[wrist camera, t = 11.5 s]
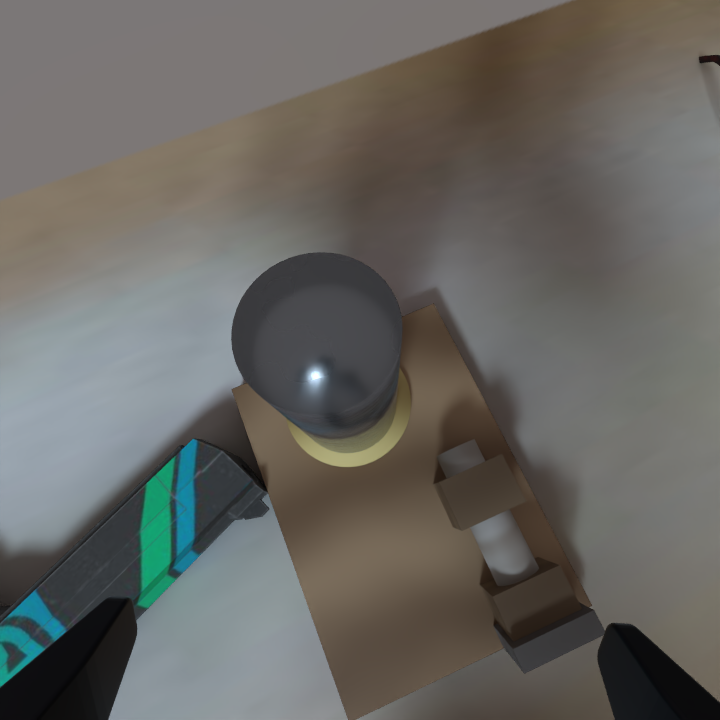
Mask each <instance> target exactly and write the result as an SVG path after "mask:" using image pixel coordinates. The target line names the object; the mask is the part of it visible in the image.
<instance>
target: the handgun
mask: <svg viewBox="0 0 720 720" xmlns="http://www.w3.org/2000/svg"><path fill="white" fill-rule="evenodd" d="M267 493H268V491H267V488H266V486H265V485H264V484H263V483H262V482H261V481H260V480H259V479H258V478H257V476H256V475H255V474H254V473H253V471H252V470H251V469H250V468H249V466H248V465H247V464H246V463H245V462H244V461H243V460H242V459H241V458H240V457H238V456H236V455H234V454H232V453H230V452H227V451H225V450H223V449H221V448H219V447H217V446H214V445H212V444H210V443H208V442H206V441H204V440H201V439H192V440H191V441H190V442H189V443H188V444H187V445H186V446H183V445H181V446H179V447H178V448H177V449H176V450H175V451H173V452H172V453H171V454H170V455H169V456H168V457H167V458H166V459H165V460H164V461H163V462H162V463H161V464H160V465H159V466H158V467H157V468H156V469H155V470H154V471H152V472H151V473H150V474H149V475H148V476H147V477H146V478H145V479H144V480H143V481H142V482H141V483H140V484H139V485H138V486H137V487H136V488H135V489H134V490H133V491H131V492H130V493H129V494H128V495H127V496H126V497H125V498H124V499H123V500H122V501H121V502H120V503H119V504H118V505H117V506H116V507H115V508H114V509H113V510H112V511H110V512H109V513H108V514H107V515H106V516H105V517H104V518H103V519H102V520H101V521H100V522H99V523H98V524H97V525H96V526H95V527H94V528H93V529H92V530H91V531H89V532H88V533H87V534H86V535H85V536H84V537H83V538H82V539H81V540H80V541H79V542H78V543H77V544H76V545H75V546H74V547H73V548H72V549H71V550H70V551H68V552H67V553H66V554H65V555H64V556H63V557H62V558H61V559H60V560H59V561H58V562H57V563H56V564H55V565H54V566H53V567H52V568H51V569H50V570H49V571H47V572H46V573H45V574H44V575H43V576H42V577H41V578H40V579H39V580H38V581H37V582H36V583H35V584H34V585H33V586H32V587H31V588H30V589H29V590H28V591H26V592H25V593H24V594H23V595H22V596H21V597H20V598H19V599H18V600H17V601H16V602H15V603H14V604H13V605H12V606H0V687H1V686H2V685H3V684H4V683H6V682H7V681H8V680H9V679H10V678H12V677H13V676H14V675H15V674H16V673H18V672H19V671H20V670H21V669H22V668H23V667H25V666H26V665H27V664H28V663H29V662H31V661H32V660H33V659H34V658H35V657H37V656H38V655H39V654H40V653H41V652H42V651H44V650H45V649H46V648H47V647H48V646H50V645H51V644H52V643H53V642H54V641H56V640H57V639H58V638H59V637H60V636H61V635H63V634H64V633H65V632H66V631H67V630H69V629H70V628H71V627H72V626H73V625H75V624H76V623H77V622H78V621H79V620H80V619H82V618H83V617H84V616H85V615H86V614H88V613H89V612H90V611H91V610H92V609H94V608H95V607H96V606H97V605H98V604H99V603H101V602H102V601H103V600H104V599H106V598H108V597H111V596H119V597H130V598H131V599H132V601H133V605H134V611H135V617H136V620H137V619H138V618H139V617H140V616H141V615H142V614H143V613H144V612H145V611H146V610H147V609H148V608H149V607H150V606H151V605H152V604H153V603H154V602H155V601H156V600H157V599H158V598H159V597H160V595H161V594H162V593H163V592H164V591H165V590H166V589H167V588H168V587H169V586H170V585H171V584H172V583H173V582H174V581H175V580H176V579H177V578H178V577H179V576H180V575H181V574H182V573H183V572H184V571H185V570H186V569H187V568H188V567H189V566H190V565H191V564H192V563H193V562H194V561H195V560H196V559H197V558H198V557H199V556H200V555H201V554H202V553H203V552H204V551H205V550H206V549H207V548H208V547H209V546H210V545H211V544H212V543H213V541H214V540H215V539H216V538H217V537H218V536H219V535H220V534H221V533H222V532H223V531H224V530H225V529H226V528H227V527H228V526H229V525H230V524H231V523H232V522H233V521H234V520H240V519H243V518H244V519H245V520H246V519H252V518H257V517H262V516H263V515H264V514H265V513H266V512H267V511H268V510H269V508H268V507H267V506H266V504H265V503H264V502H263V501H262V500H261V499H262V498H263V497H264V496H265V495H266V494H267Z"/></svg>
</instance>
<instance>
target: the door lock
mask: <svg viewBox="0 0 720 720" xmlns="http://www.w3.org/2000/svg"><path fill="white" fill-rule="evenodd" d="M402 327H403V330H402V344H401V356H400V367H399V379H398V390H397V402H396V412H395V417H394V420H393V423H392V425H391V427H390V429H389V430H388V432H387V433H386V435H385V436H384V437H383V438H382V439H381V440H380V441H379V442H378V443H376V444H375V445H373V446H372V447H370V448H368V449H366V450H363V451H360V452H356V453H338V452H333V451H330V450H328V449H326V448H324V447H322V446H320V445H319V444H317V443H316V442H315V441H314V440H312V439H311V438H310V437H309V436H308V435H306V434H305V433H304V432H303V431H302V430H300V429H299V428H298V427H297V426H295V425H294V424H293V423H292V422H291V421H289V420H288V419H287V418H286V417H285V416H283V415H282V414H281V413H280V412H279V411H277V410H276V409H275V408H274V407H272V406H271V405H270V404H269V403H268V402H266V401H265V400H264V399H263V398H262V397H260V396H259V395H258V394H257V393H256V392H255V391H254V390H253V389H252V388H251V387H250V386H249V385H248V383H245V384H243V385H241V386H238V387H236V388H233V389H232V392H233V395H234V398H235V401H236V403H237V406H238V409H239V412H240V415H241V418H242V420H243V423H244V426H245V429H246V432H247V435H248V437H249V440H250V443H251V446H252V449H253V452H254V454H255V457H256V460H257V463H258V466H259V469H260V471H261V474H262V477H263V480H264V483H265V486H266V488H267V491H268V494H269V497H270V500H271V503H272V505H273V508H274V511H275V514H276V517H277V520H278V522H279V525H280V528H281V531H282V534H283V537H284V539H285V542H286V545H287V548H288V551H289V554H290V556H291V559H292V562H293V565H294V568H295V571H296V573H297V576H298V579H299V582H300V585H301V588H302V590H303V593H304V596H305V599H306V602H307V605H308V607H309V610H310V613H311V616H312V619H313V621H314V624H315V627H316V630H317V633H318V636H319V638H320V641H321V644H322V647H323V650H324V653H325V655H326V658H327V661H328V664H329V667H330V670H331V672H332V675H333V678H334V681H335V684H336V687H337V689H338V692H339V695H340V698H341V701H342V704H343V706H344V709H345V712H346V715H347V718H348V720H356V719H358V718H360V717H362V716H364V715H366V714H368V713H370V712H372V711H374V710H376V709H379V708H381V707H383V706H385V705H387V704H389V703H391V702H393V701H395V700H397V699H399V698H401V697H403V696H406V695H408V694H410V693H412V692H414V691H416V690H418V689H420V688H422V687H424V686H426V685H428V684H430V683H433V682H435V681H437V680H439V679H441V678H443V677H445V676H447V675H449V674H451V673H453V672H455V671H457V670H460V669H462V668H464V667H466V666H468V665H470V664H472V663H474V662H476V661H478V660H480V659H482V658H485V657H487V656H489V655H491V654H493V653H495V652H497V651H499V650H501V649H503V648H505V650H506V651H507V652H508V653H509V655H510V656H511V657H512V659H513V660H514V661H515V662H516V664H517V665H518V666H519V667H520V669H521V670H522V671H523V673H526V672H529V671H531V670H533V669H535V668H537V667H539V666H541V665H543V664H545V663H547V662H549V661H551V660H553V659H555V658H557V657H559V656H561V655H563V654H566V653H568V652H570V651H572V650H574V649H576V648H578V647H580V646H582V645H584V644H586V643H588V642H590V641H592V640H594V639H596V638H598V637H600V636H602V635H604V634H605V630H604V629H603V627H602V625H601V623H600V621H599V619H598V617H597V615H596V613H595V611H594V610H593V609H591V608H589V607H590V606H592V604H591V603H590V601H589V599H588V597H587V595H586V593H585V591H584V589H583V587H582V585H581V583H580V582H579V580H578V578H577V576H576V574H575V572H574V570H573V568H572V566H571V564H570V562H569V561H568V559H567V557H566V555H565V553H564V551H563V549H562V547H561V545H560V543H559V542H558V540H557V538H556V536H555V534H554V532H553V530H552V528H551V526H550V524H549V522H548V521H547V519H546V517H545V515H544V513H543V511H542V509H541V507H540V505H539V503H538V501H537V500H536V498H535V496H534V494H533V492H532V490H531V488H530V486H529V484H528V482H527V480H526V479H525V477H524V475H523V473H522V471H521V469H520V467H519V465H518V463H517V461H516V459H515V458H514V456H513V454H512V452H511V450H510V448H509V446H508V444H507V442H506V440H505V439H504V437H503V435H502V433H501V431H500V429H499V427H498V425H497V423H496V421H495V419H494V418H493V416H492V414H491V412H490V410H489V408H488V406H487V404H486V402H485V400H484V398H483V397H482V395H481V393H480V391H479V389H478V387H477V385H476V383H475V381H474V379H473V377H472V376H471V374H470V372H469V370H468V368H467V366H466V364H465V362H464V360H463V358H462V356H461V355H460V353H459V351H458V349H457V347H456V345H455V343H454V341H453V339H452V337H451V336H450V334H449V332H448V330H447V328H446V326H445V324H444V322H443V320H442V318H441V316H440V315H439V313H438V311H437V309H436V307H435V305H434V303H433V304H431V305H429V306H426V307H424V308H422V309H419V310H417V311H415V312H412V313H410V314H408V315H405V316H403V317H402Z"/></svg>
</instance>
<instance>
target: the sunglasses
mask: <svg viewBox="0 0 720 720" xmlns="http://www.w3.org/2000/svg"><path fill="white" fill-rule="evenodd" d="M699 60H700V63H704V62H715V63H717V64H718V65H719V66H720V55H710V56H702V57H699Z"/></svg>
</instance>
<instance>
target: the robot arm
mask: <svg viewBox="0 0 720 720" xmlns="http://www.w3.org/2000/svg"><path fill="white" fill-rule="evenodd" d="M136 636H137V623H136V617H135V611H134V605H133V601H132V599H131V598H130V597H119V596H111V597H108V598H106V599H104V600H103V601H102V602H101V603H99V604H98V605H97V606H96V607H95V608H94V609H92V610H91V611H90V612H89V613H88V614H86V615H85V616H84V617H83V618H82V619H80V620H79V621H78V622H77V623H76V624H75V625H73V626H72V627H71V628H70V629H69V630H67V631H66V632H65V633H64V634H63V635H61V636H60V637H59V638H58V639H57V640H56V641H54V642H53V643H52V644H51V645H50V646H48V647H47V648H46V649H45V650H44V651H42V652H41V653H40V654H39V655H38V656H37V657H35V658H34V659H33V660H32V661H31V662H29V663H28V664H27V665H26V666H25V667H23V668H22V669H21V670H20V671H19V672H18V673H16V674H15V675H14V676H13V677H12V678H10V679H9V680H8V681H7V682H6V683H4V684H3V685H2V686H1V687H0V720H108V719H109V716H110V713H111V710H112V707H113V704H114V701H115V698H116V695H117V693H118V690H119V687H120V684H121V681H122V678H123V675H124V672H125V669H126V667H127V664H128V661H129V658H130V655H131V652H132V649H133V646H134V643H135V640H136ZM598 665H599V668H600V672H601V675H602V678H603V682H604V685H605V688H606V692H607V695H608V698H609V702H610V705H611V708H612V711H613V715H614V718H615V720H720V702H719V701H718V700H716V699H715V698H714V697H713V696H712V695H711V694H710V693H709V692H708V691H706V690H705V689H704V688H703V687H702V686H701V685H700V684H699V683H698V682H696V681H695V680H694V679H693V678H692V677H691V676H690V675H689V674H688V673H686V672H685V671H684V670H683V669H682V668H681V667H680V666H679V665H678V664H676V663H675V662H674V661H673V660H672V659H671V658H670V657H669V656H668V655H667V654H665V653H664V652H663V651H662V650H661V649H660V648H659V647H658V646H657V645H655V644H654V643H653V642H652V641H651V640H650V639H649V638H648V637H647V636H645V635H644V634H643V633H642V632H641V631H640V630H639V629H638V628H636V627H635V626H633V625H631V624H624V623H611V624H609V625H608V626H607V628H606V631H605V634H604V636H603V639H602V642H601V644H600V647H599V649H598Z"/></svg>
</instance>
